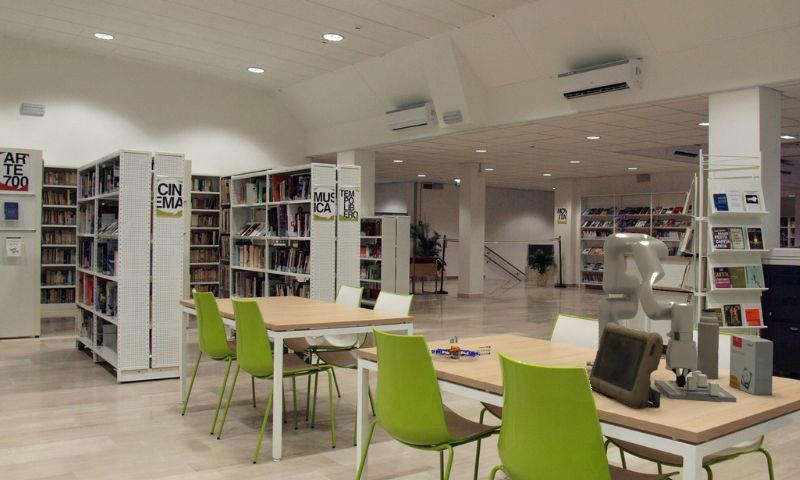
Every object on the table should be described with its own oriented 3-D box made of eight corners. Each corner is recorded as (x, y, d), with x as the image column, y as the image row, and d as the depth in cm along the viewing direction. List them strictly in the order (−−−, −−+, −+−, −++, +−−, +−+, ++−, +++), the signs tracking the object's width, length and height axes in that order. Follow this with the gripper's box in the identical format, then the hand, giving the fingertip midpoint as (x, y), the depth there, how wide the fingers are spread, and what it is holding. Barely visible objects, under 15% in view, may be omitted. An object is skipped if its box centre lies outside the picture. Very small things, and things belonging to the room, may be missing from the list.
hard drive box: (728, 385, 254) (729, 334, 254) (747, 385, 254) (748, 334, 254) (753, 395, 238) (754, 340, 238) (773, 395, 239) (774, 340, 239)
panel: (669, 398, 230) (670, 394, 230) (654, 383, 254) (654, 379, 254) (736, 402, 226) (736, 397, 226) (714, 386, 251) (714, 382, 251)
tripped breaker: (688, 389, 236) (688, 378, 236) (686, 387, 239) (686, 376, 239) (696, 390, 235) (696, 378, 235) (693, 388, 238) (694, 376, 238)
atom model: (472, 352, 325) (473, 331, 325) (509, 360, 304) (510, 337, 304) (416, 356, 304) (417, 333, 305) (452, 364, 283) (453, 339, 284)
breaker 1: (694, 382, 249) (694, 371, 249) (691, 380, 252) (692, 370, 252) (701, 382, 248) (701, 372, 248) (699, 381, 251) (699, 370, 251)
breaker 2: (711, 395, 228) (711, 383, 228) (708, 393, 231) (708, 381, 231) (719, 395, 228) (719, 384, 228) (716, 393, 231) (716, 382, 231)
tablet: (580, 388, 244) (581, 321, 244) (612, 386, 248) (613, 320, 248) (634, 410, 213) (636, 333, 213) (670, 408, 217) (672, 332, 217)
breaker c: (699, 386, 242) (699, 375, 242) (697, 384, 245) (697, 373, 245) (706, 386, 241) (707, 376, 241) (704, 385, 244) (704, 374, 244)
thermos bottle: (715, 375, 273) (716, 308, 273) (720, 379, 265) (721, 310, 265) (694, 374, 274) (696, 308, 274) (699, 378, 266) (700, 310, 266)
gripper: (662, 337, 235) (661, 387, 235) (706, 338, 233) (705, 390, 233) (657, 334, 243) (656, 383, 243) (700, 335, 240) (699, 385, 240)
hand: (680, 386), depth 238 cm, fingers closed
